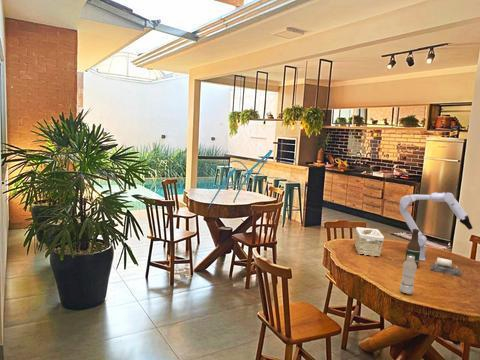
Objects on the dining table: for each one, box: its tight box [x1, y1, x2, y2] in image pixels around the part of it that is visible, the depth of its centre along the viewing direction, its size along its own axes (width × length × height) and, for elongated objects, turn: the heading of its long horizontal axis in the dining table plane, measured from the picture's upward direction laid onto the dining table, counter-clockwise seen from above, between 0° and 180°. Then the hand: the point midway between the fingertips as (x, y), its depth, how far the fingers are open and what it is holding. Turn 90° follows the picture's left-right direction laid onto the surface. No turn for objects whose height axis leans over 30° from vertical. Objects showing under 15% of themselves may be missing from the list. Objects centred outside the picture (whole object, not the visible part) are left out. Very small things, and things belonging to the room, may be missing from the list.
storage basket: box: [354, 226, 385, 258], centre depth 255 cm, size 24×16×15 cm
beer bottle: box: [404, 228, 420, 268], centre depth 229 cm, size 8×8×24 cm
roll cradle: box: [430, 261, 462, 277], centre depth 226 cm, size 16×10×4 cm, turn 61°
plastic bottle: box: [399, 255, 417, 295], centre depth 186 cm, size 6×7×20 cm
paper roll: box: [435, 257, 453, 267], centre depth 235 cm, size 9×5×5 cm, turn 61°
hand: (470, 228), depth 230 cm, fingers open, 7 cm apart
